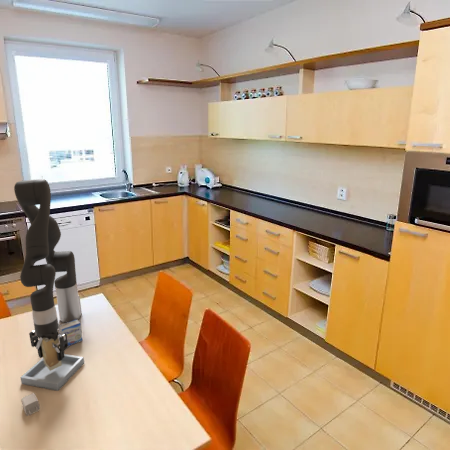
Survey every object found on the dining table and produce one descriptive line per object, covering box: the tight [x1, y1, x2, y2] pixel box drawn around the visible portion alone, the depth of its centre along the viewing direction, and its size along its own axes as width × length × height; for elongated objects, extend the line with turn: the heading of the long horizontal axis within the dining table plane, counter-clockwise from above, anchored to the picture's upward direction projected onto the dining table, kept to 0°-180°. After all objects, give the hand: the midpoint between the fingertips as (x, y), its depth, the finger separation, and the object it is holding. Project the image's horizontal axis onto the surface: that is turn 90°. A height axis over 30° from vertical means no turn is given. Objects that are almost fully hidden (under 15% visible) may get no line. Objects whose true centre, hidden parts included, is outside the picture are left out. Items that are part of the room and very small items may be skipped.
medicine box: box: [58, 319, 83, 347], centre depth 148 cm, size 8×4×9 cm, turn 131°
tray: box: [20, 353, 85, 392], centre depth 130 cm, size 15×15×3 cm
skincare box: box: [41, 338, 62, 371], centre depth 128 cm, size 6×4×12 cm
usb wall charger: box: [21, 392, 41, 416], centre depth 113 cm, size 4×7×4 cm, turn 41°
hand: (51, 357), depth 129 cm, fingers closed on skincare box, 7 cm apart
